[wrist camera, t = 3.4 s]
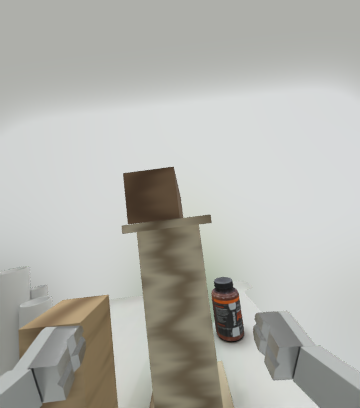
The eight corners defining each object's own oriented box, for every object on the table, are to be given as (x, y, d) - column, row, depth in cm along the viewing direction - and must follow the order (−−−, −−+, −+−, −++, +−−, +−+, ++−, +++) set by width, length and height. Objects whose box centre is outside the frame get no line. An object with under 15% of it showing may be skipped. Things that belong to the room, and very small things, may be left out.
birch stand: (143, 462, 19) (121, 225, 21) (158, 378, 29) (142, 223, 31) (243, 452, 19) (210, 214, 21) (223, 371, 29) (202, 215, 31)
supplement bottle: (247, 343, 34) (238, 284, 35) (216, 343, 35) (208, 286, 36) (242, 324, 40) (235, 274, 41) (216, 324, 41) (209, 276, 42)
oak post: (24, 494, 18) (18, 329, 19) (70, 416, 25) (63, 300, 26) (91, 487, 17) (80, 322, 19) (118, 411, 24) (108, 294, 26)
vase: (-29, 405, 28) (-31, 280, 30) (9, 368, 35) (6, 268, 37) (46, 388, 29) (40, 269, 31) (68, 356, 37) (62, 260, 38)
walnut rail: (128, 224, 13) (123, 173, 13) (162, 221, 33) (160, 200, 33) (179, 217, 13) (173, 166, 13) (183, 218, 33) (180, 197, 33)
